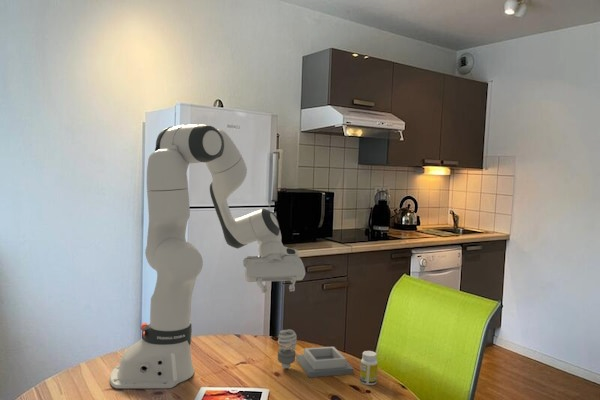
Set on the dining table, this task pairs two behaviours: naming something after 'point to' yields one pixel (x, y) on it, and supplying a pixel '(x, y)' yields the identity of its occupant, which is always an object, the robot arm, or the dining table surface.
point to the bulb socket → (323, 362)
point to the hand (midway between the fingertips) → (278, 291)
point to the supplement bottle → (368, 368)
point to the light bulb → (286, 348)
